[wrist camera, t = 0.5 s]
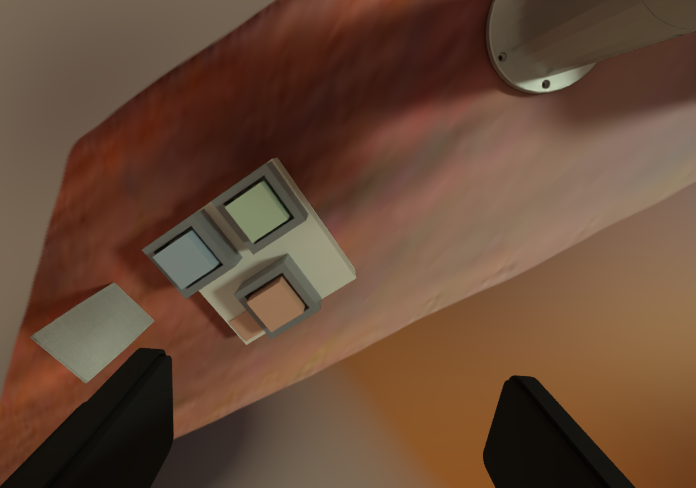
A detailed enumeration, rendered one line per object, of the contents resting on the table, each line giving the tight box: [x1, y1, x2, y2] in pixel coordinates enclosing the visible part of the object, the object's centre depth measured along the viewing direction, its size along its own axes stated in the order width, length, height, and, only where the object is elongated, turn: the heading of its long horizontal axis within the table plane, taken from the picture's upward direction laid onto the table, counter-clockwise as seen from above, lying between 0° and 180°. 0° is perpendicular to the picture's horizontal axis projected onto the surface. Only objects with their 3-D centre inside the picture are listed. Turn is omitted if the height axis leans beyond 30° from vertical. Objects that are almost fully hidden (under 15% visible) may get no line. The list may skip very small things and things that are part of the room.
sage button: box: [225, 180, 291, 243], centre depth 32 cm, size 4×4×2 cm
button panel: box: [142, 157, 356, 345], centre depth 37 cm, size 16×16×6 cm
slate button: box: [153, 229, 221, 290], centre depth 33 cm, size 4×4×2 cm
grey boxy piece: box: [30, 283, 154, 383], centre depth 37 cm, size 4×7×10 cm, turn 36°
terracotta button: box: [247, 274, 305, 332], centre depth 35 cm, size 4×4×2 cm
